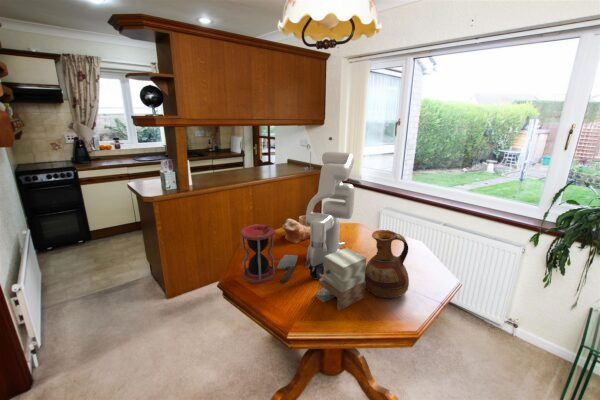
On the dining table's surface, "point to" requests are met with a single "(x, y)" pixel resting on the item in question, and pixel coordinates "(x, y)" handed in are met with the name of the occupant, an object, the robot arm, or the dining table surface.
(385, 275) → the ceramic pitcher
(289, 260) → the cleaver
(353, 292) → the cabinet
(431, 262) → the dining table surface
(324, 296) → the rectangular block
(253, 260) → the hourglass
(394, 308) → the dining table surface
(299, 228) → the tan rock
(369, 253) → the dining table surface
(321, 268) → the hammer
